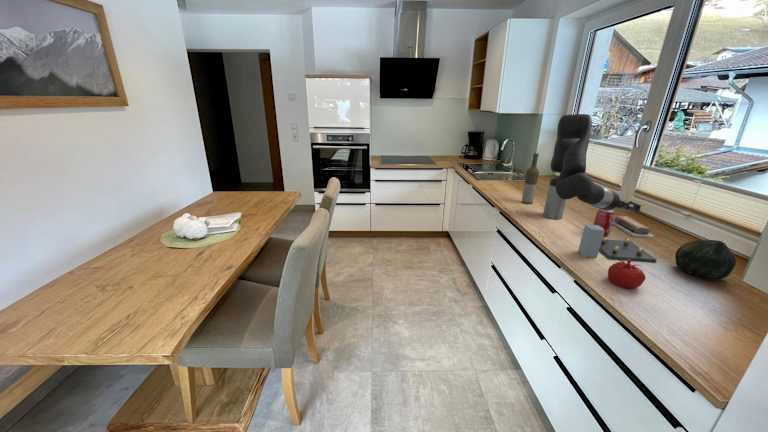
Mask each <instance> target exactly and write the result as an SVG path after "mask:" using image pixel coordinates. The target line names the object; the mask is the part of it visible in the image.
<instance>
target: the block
mask: <svg viewBox="0 0 768 432" xmlns="http://www.w3.org/2000/svg"><path fill="white" fill-rule="evenodd" d="M604 232H605V230H604V229H603V228H601V227H600V226H599V225H594V224H584V228H583V231H582V235H581V237H580V242H579V246H578V249H577V252H578V253H579V252H580V253H581V254H582V255H583V256H585V257H584V258H597V257H598V255H599V249H600V245H601V242H602V238H603V237H604V236H603V235H604ZM580 253H579V254H580ZM582 255H581V256H582ZM583 256H582V257H583Z"/></svg>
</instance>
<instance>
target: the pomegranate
mask: <svg viewBox="0 0 768 432" xmlns="http://www.w3.org/2000/svg"><path fill="white" fill-rule="evenodd" d="M626 261H627V262H625V260H618V262H615V263H613V264H612V265H610V266H609V267H608V270H607V279H608V280H609V282H611V283H613V284H614V285H616V286H620V287H622V288H624V289H636V288H638V287H641V286H642V285H643V283H644V282H645V280H646V279H647V278H646V275H645V273H644V271H643V270H642V269H641V268H639V267H641V264H631V262H632V261H631V260H630V259H627V260H626ZM637 266H638V267H637Z"/></svg>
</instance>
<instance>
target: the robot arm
mask: <svg viewBox="0 0 768 432" xmlns="http://www.w3.org/2000/svg"><path fill="white" fill-rule="evenodd" d="M592 122H593V121H592V116H591V115H590V114H588V113H587V114H585V113H582V114H581V113H579V114H565V115H562V116H561V117H560V119H559V121H558V124H557V129H556V131H557V133H556V141H555V143H554V149H553V156H552V158H551V162H550V170H551V172H554V173H559V175H558V177H555V178H554V177H553V178H551V179H550V181H549V185H548V191H547V193H546V194H547V196H546V199H545V204H544V209H543V213H542V217H544V218H545V217H546V218H547V219H548V218H549V219H551V220H553V219H554V220H561V219H563V217H564V211H565V207H566V203H567V200H571V199H574V198H575V197H576V198H577V199H578V200H579V201H581V202H583V203H585V204H588V205H589V206H591V207H594V208H596V209H598V210H600V209H601V210H604V211H609V210H621V211H626V212H627V211H630V212H632V213H636V214H639V213H640V211H641V208H642V207H641V206H642V205H641V204H639V203H636V202H634V201H632V200H631V201H630V200H629V201H628V200H625V199H622V198H620V196H619V194H618V192H616V191H614V190H611V189H609V188H608V187H605V186H602V185H599V184H597V183H595V182H594V181H593V180H592V178H591V177H590V176H589V174H587V173H586V170H587V151H588V148H589V144H590V137H591V131H592V124H593V123H592Z"/></svg>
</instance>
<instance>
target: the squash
mask: <svg viewBox="0 0 768 432" xmlns="http://www.w3.org/2000/svg"><path fill="white" fill-rule="evenodd" d="M674 259H675V265H676V266H677V268H679V269H681V270H682V271H685V272H686V273H689V274H694V276H698V277H701V278H702V279H705V280H707V281H712V280H715V281H716V280H722V279H723V280H724V279H725V278H727V277H729V276H730V274H731V273H732V272H733V270H734V268H735V267H736V263H737V261H736V256H735V255H734V253H733V251H732V250H731V249H730V248H729V247H728V245H727V244H726V243H725V242H724V241H721V240H715V239H705V240H704V239H703V240H701V239H699V240H697V239H696V240H690V241H687V242H685V243H683V244H682V245H681V246H680V247H678V249H677V250H676V252H675V257H674Z"/></svg>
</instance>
